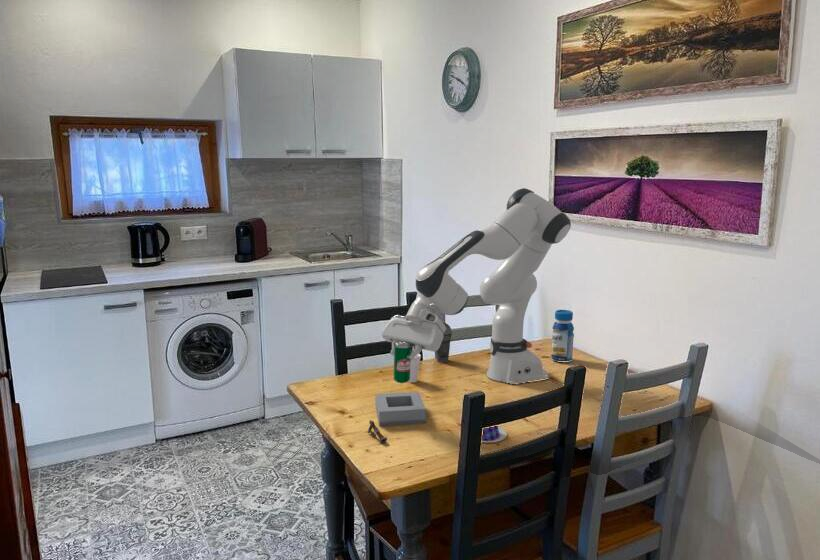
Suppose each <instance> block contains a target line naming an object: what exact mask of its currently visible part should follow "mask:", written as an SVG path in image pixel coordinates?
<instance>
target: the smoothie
mask: <svg viewBox="0 0 820 560" xmlns="http://www.w3.org/2000/svg"><path fill="white" fill-rule="evenodd" d="M414 349H415V347H412V351H413V350H414ZM421 359H422V355H421V354H420V353H419V354H417V355H416V356H415V357H414V359H413V360H411V365H410V380H409V381H408V382H407V383H413V384H414V383H417V382H418V379H419V378H418V377H419V371H420V364H421V363H420V362H421V361H420V360H421Z"/></svg>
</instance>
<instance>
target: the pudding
mask: <svg viewBox="0 0 820 560" xmlns="http://www.w3.org/2000/svg"><path fill="white" fill-rule="evenodd" d="M507 433H508V432H507V431H506V430H505V429H503V428H502V427H500V426H499V425H498V426H494V427H489V428H484V429H483V435H482V440H481V441H482V442H481V443H497V442H500V441H503V440H505V439H506V438H507V436H508V435H507Z"/></svg>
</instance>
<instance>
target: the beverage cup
mask: <svg viewBox="0 0 820 560" xmlns="http://www.w3.org/2000/svg"><path fill="white" fill-rule="evenodd" d="M439 318H440V320H441V321H442V320H443V319H442V313H439ZM442 322H443V321H442ZM443 324H444V325H445V327H446V330H445V332H444V333H443V340H442V343H441V345H440V347H439V349H438V350H437V351H435V357H436V358H435V359H436V362H437V363H441V364H443V363H444V364H445V363H448V362H449V357H450V348H451V347H450V346H451V339H452V335H453V332H452V328H451V326H450V324H448V323H446V322H443Z"/></svg>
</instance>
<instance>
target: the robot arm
mask: <svg viewBox="0 0 820 560" xmlns="http://www.w3.org/2000/svg"><path fill="white" fill-rule="evenodd" d="M571 223H572V222H571V219H570V218H569V217H568V216H567V214H566V213H564V212H562V211H561V210H560V209H559V208H557V206H555V205H554V204H553V203H552V202H550V201H549V200H546V199H545V198H543V197H541V196H540V195H538V194H537V193H535V192H534V191H533V190H531V189H529V188H526V187H523V188H519V189H517V190H516V191H514V192H513V193H512V195H511V196H510V197H509V198H508V200H507V203H506V211H504V212H503V213H502V214H501V215H500V216H499V217H498V218H497V219H496V220H495V221H494V222H493V223H492V224H491V225H490V226H488V227H487V228H485V229H483V230H474V231H471V232H469V233H468V234H467V235H465V236H464V237H463V238H461V239H460V240H458V241H457V242H456V243H455V244H453V245H452V246H451V247H450V248H448V249H447V250H446V251H444V252H443V253H442V254H440V255H439V256H438V257H437V258H436V259H434V260H433V261H431V262H429V263H427V264H426V265H424V266H423V267H421V268H420V270H419V271H418V272H417V273H416V276H415V288H416V291H417V293H416V298H415V300H414V301H413V302H412V303H411V305H410V307H409V308H408V311H407V313H406V315H400V314H396V315H394V316H392V317H391V318H390V319H389V321H388V322H387V324H386V325H385V326H384V328H383V330H382V331H381V336H382V338H383V339H384V340H385V342H388V343H391V350H390V352H389V353H390V355H391V356H393V357H394V346H395V344H396V342H398V341H405V342H409V343H410V346H411V348H413V347H414V350H413V349H412V350H411V352H409V353H408V355H407V358H408V359H410V360H413V359H414V357H415V356H416V355H417V354H420V353H421V352H422V350H424V351H429V352H434V353H436V351H437V350H438V349H439V347H440V345H441V343H442V340H443V333H444V332H445V330H446V327H445V325H444V324H443V323H444V322H443V321H441V320H442V319H441V320H440V316H438V315H439V314H440V313H441V315H442V314H443V315H446V316H456V315H458V314H461V312H463V311H464V309H465V308H466V306H467V303H468V300H469V294H468V292H467V291H466V290H465V288H463V286H461V285H460V284H459V283H458V281H456V280H455V279H454V278H453V277H452V276H451V275H450V274H449V272H450V271H451V270H452V269H454V268H455V267H456V266H457V265H459V263H461V262H462V261H463V260H464V259H466V258H467V257H469V256H470V255H481V256H484V257H486V258H487V259H491V260H496V261H500V260H501V261H502V262H501V263H500V264H499V265H498V266H497V267H496V268H495V269H494V271H493V272H492V273H490V275H488V276H486V277H485V278H483V280H482V281H481V283H480V285H479V294H480V297H481V299H482V300H483V302H484V303H486V304H488V305H493V306H494V305H496V306H498V309H497V310H496V312H495V313H494V315H493V316H492V323H491V324H492V326H491V327H492V330H491V338H490V346H489V347H490V348H489V349H490V350H489V352H490V359H489V365H488V368H487V372H486V377H487V378H489V379H491V380H494V381H496V382H499V383H500V382H501V381H502V382H501V383H505V382H506V384H508V383H510V384H509V385H512V384H515V383H523V382H528V381H534V380H540V379H546V378H548V377H549V378H550V374H549V373H548V372H547V370H546V369H544V368H543V363H542V360H541V359H540V357H538V356H537V354H535V353H534V352H533V351H531V350H530V349H531V348H532V347H533V344H532V342H530V341H528V340H527V339H525V338H524V336H523V335H524V321H525V315H526V312H527V308H528V305H529V302H530V301H531V297H532V296H533V295H534V293H535V292H536V291H537V287H538V281H537V278H536V276H535V274H534V273H535V272H536V271H537V270H538V269H539V267H540V265H541V264H542V262H543V261H544V259H545V258H546V256H547V253H548V252H549V250H550V249H551V247H552V244H553V245H554V244H558V243H560V242H561V241H563V240H564V238H566V237H567V235H568V233H569V231H570V230H571V227H572V226H571ZM545 375H547V376H545ZM523 384H524V383H523Z"/></svg>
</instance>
